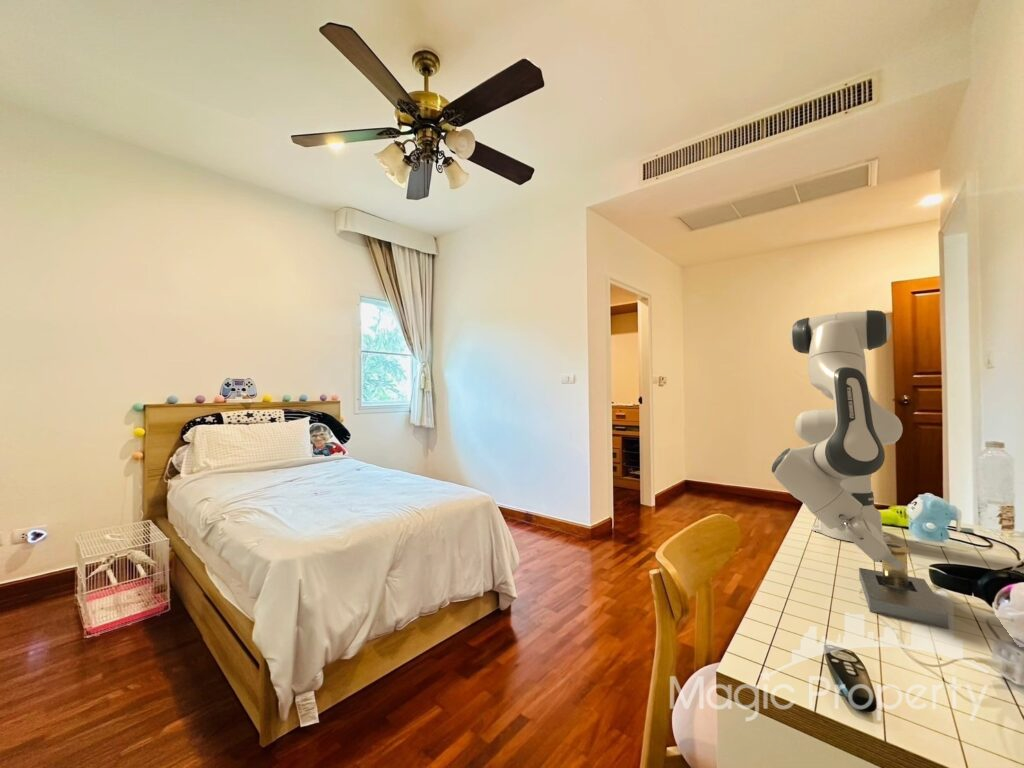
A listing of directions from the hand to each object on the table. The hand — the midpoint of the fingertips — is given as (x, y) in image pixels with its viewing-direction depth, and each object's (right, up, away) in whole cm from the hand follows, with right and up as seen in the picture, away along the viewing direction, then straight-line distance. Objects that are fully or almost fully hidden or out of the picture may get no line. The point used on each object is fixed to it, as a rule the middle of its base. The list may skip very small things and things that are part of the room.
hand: (898, 563), depth 88 cm
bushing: (-1, -4, 0) cm, 4 cm away
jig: (-2, -7, -2) cm, 7 cm away
